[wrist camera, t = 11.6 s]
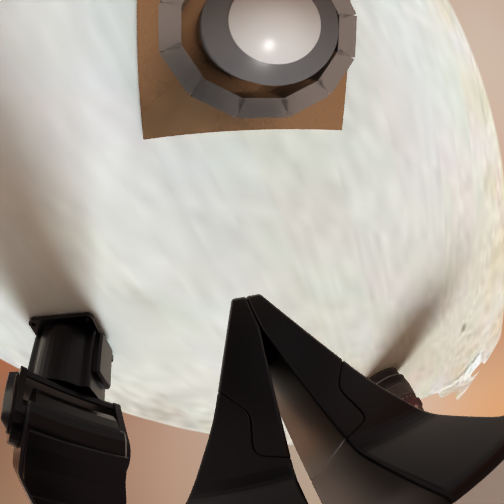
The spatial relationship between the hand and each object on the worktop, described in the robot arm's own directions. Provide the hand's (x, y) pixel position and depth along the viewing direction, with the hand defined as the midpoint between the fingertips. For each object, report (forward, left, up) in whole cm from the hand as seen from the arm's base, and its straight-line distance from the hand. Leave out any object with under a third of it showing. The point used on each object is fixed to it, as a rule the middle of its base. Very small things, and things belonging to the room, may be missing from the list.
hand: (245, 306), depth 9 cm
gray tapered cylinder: (+3, +8, -11) cm, 14 cm away
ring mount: (+3, +9, -12) cm, 15 cm away
